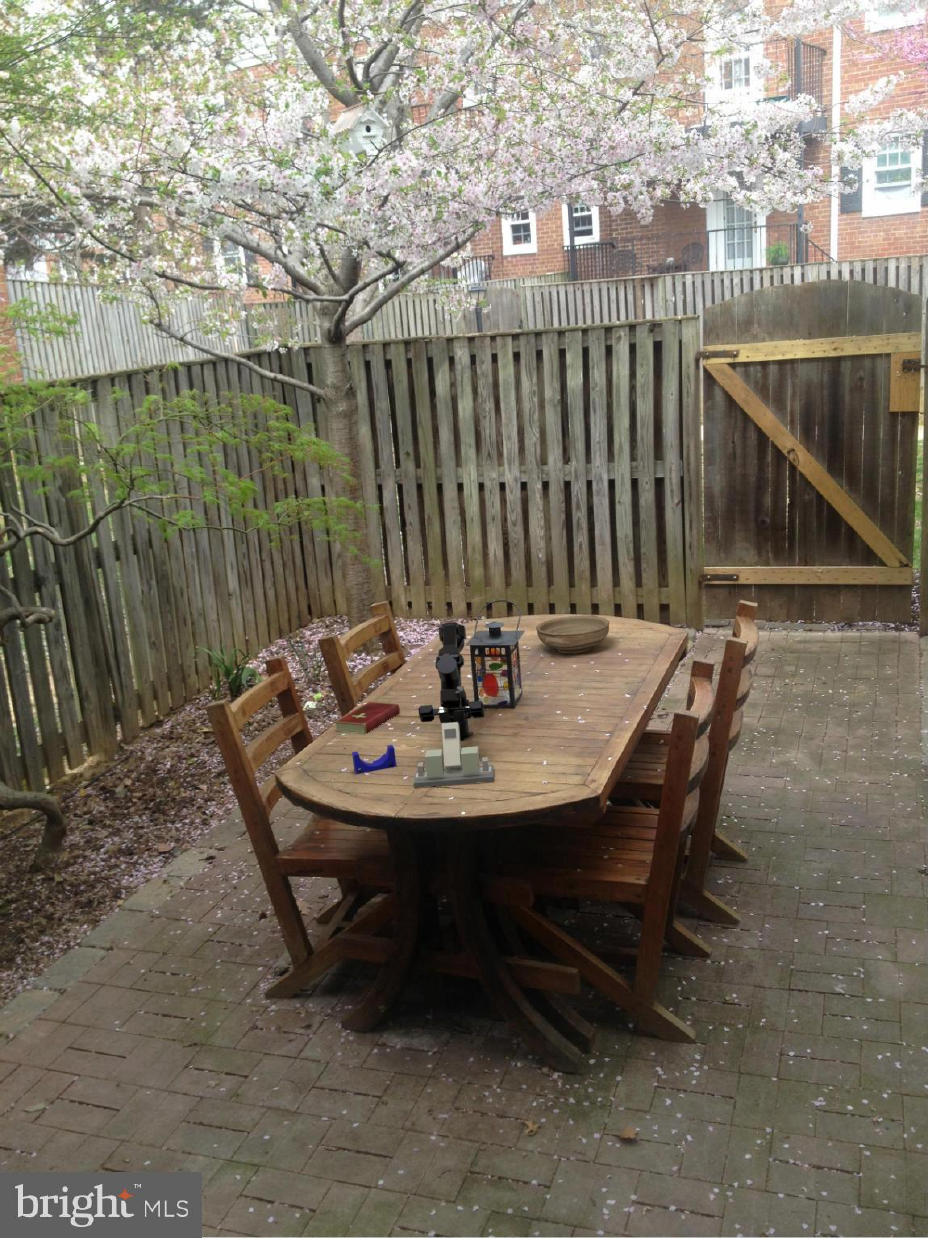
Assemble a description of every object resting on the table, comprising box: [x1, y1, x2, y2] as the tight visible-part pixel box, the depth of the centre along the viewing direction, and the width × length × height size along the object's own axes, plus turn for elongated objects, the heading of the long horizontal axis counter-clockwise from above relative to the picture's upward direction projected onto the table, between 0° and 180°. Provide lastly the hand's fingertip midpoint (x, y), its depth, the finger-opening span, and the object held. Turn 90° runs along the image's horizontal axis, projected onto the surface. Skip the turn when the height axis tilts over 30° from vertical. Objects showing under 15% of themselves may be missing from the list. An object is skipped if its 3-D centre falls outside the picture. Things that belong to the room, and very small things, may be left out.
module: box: [441, 722, 462, 769], centre depth 299 cm, size 5×4×12 cm
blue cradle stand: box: [351, 744, 397, 775], centre depth 312 cm, size 12×4×6 cm, turn 106°
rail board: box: [413, 745, 495, 789], centre depth 297 cm, size 9×22×8 cm, turn 88°
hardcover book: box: [333, 701, 401, 735], centre depth 354 cm, size 12×21×4 cm, turn 152°
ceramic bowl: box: [535, 614, 610, 654], centre depth 418 cm, size 37×29×10 cm
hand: (452, 738), depth 305 cm, fingers closed
